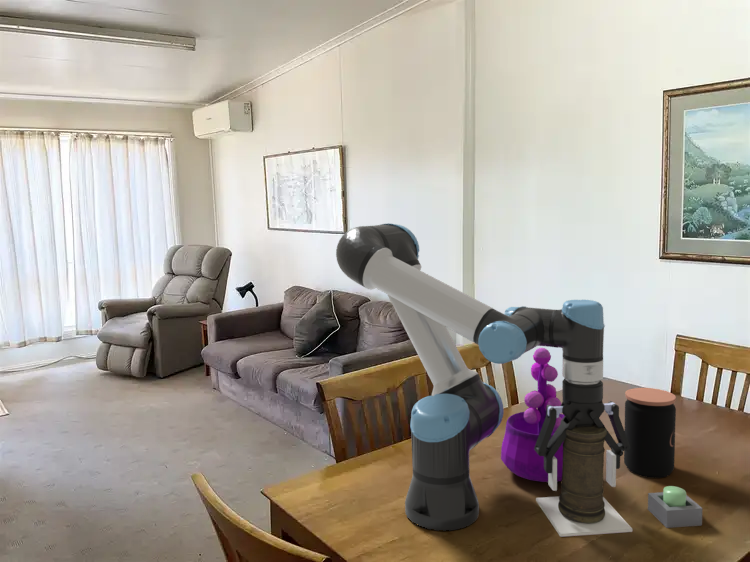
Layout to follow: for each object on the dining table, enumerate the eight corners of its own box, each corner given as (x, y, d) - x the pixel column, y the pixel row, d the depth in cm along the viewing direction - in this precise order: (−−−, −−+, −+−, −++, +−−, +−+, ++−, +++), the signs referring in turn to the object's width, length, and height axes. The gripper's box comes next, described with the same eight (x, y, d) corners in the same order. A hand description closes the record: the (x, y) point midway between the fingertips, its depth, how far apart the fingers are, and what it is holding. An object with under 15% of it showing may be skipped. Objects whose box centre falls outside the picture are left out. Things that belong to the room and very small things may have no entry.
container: (600, 528, 113) (603, 438, 111) (552, 516, 118) (555, 429, 116) (609, 508, 121) (613, 423, 119) (564, 496, 126) (567, 415, 123)
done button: (670, 518, 116) (670, 496, 115) (658, 508, 120) (659, 486, 119) (689, 516, 116) (690, 495, 115) (678, 506, 120) (678, 485, 119)
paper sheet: (560, 536, 112) (560, 533, 112) (535, 500, 126) (535, 497, 126) (632, 531, 113) (632, 528, 113) (600, 496, 127) (600, 493, 127)
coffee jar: (680, 480, 133) (682, 402, 130) (629, 478, 135) (630, 401, 133) (666, 460, 143) (668, 388, 141) (619, 458, 145) (620, 386, 143)
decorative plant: (491, 459, 147) (490, 341, 143) (564, 454, 149) (564, 336, 145) (516, 496, 128) (515, 361, 125) (599, 489, 130) (600, 355, 126)
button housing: (666, 527, 114) (667, 510, 114) (647, 509, 121) (648, 493, 121) (701, 525, 114) (702, 508, 114) (681, 507, 121) (681, 490, 121)
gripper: (529, 388, 112) (529, 498, 115) (651, 381, 113) (648, 490, 116) (517, 377, 119) (518, 480, 122) (631, 371, 121) (630, 473, 123)
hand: (581, 485), depth 119 cm, fingers open, 11 cm apart
